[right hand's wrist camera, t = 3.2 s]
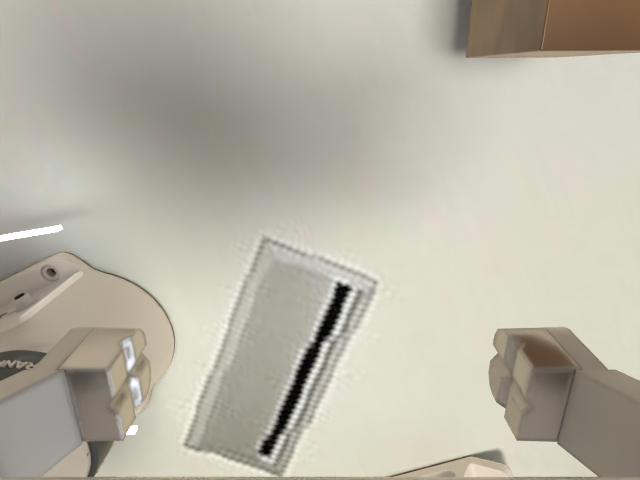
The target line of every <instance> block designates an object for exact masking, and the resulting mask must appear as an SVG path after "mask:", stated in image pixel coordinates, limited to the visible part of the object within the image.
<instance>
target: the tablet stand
mask: <svg viewBox="0 0 640 480" xmlns="http://www.w3.org/2000/svg"><path fill="white" fill-rule="evenodd" d="M394 477H513V475H512V471H511V469H510V468H509V467H508V466H507V465H505V464H502V463H498V462H494V461H490V460H485V459H481V458H477V457H473V456H470V457H467V458H463V459H459V460H455V461H451V462H448V463H444V464H440V465H436V466H432V467H429V468H425V469H421V470H417V471H413V472H410V473H406V474H402V475H398V476H394Z"/></svg>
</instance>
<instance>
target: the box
mask: <svg viewBox="0 0 640 480" xmlns="http://www.w3.org/2000/svg"><path fill="white" fill-rule="evenodd" d="M638 52H640V0H472V5H471V15H470V24H469V34H468V43H467V53H466V58H527V57H569V56H586V55H603V54H621V53H638Z"/></svg>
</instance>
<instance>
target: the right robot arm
mask: <svg viewBox="0 0 640 480" xmlns="http://www.w3.org/2000/svg"><path fill="white" fill-rule="evenodd" d="M61 229H63V228H62V226H61V225H59V226H53V227H47V228H42V229H36V230H30V231H24V232H18V233H12V234H6V235H1V236H0V241H4V240H10V239H16V238H22V237H28V236H34V235H40V234H46V233H52V232H57V231H60V230H61ZM51 269H54V270H55V272H56V273H54V272H52V271H51ZM493 345H494V347H495V349H496V350H497V352H498V353H497V354H496V355H495V356H494V358H493V359H492V360H491V361H490V367H489V383H490V388H491V391H492V394H493V396H494V398H495V400H496V402H497V403H498V404H500V405H501V406H503V407H504V408H506V410H505V416H504V417H505V419H506V421H507V423H508V425H509V427H510V429H511V431H512V432H513V434H514V436H515V438H516V440H517V441H552V442H558V443H557V444H559V445H560V446H561V447H562V448H564V449H565V450H566V451H567V452H569V453H570V454H571V455H572V456H574V457H575V458H576V459H577V460H579V461H580V462H581V463H582V464H583V465H585V466H586V467H587V468H588V469H590V470H591V471H592V472H593V473H595V474H596V475H597V476H598V477H94V476H95V474H96V473H97V472H98V471H99V469H100V468H101V466H102V465H103V463H104V459H105V457H106V456H107V454H108V452H109V450H110V448H111V447H112V446H113V444H114V443H115V441H122V440H124V438H125V436H126V435H128V434H135V432H136V430H137V426H131V425H132V423H133V421H134V419H135V417H136V416H135V414H139V413H141V412H142V411H143V410H144V408H145V407H146V405H147V404H148V402H149V399H150V396H151V392H152V388H153V386H154V385H155V384H156V383H157V381H158V380H159V379H160V378H161V377H162V376H163V375H164V373H165V372H166V371H167V369H168V367H169V366H170V363H171V361H172V358H173V354H174V335H173V331H172V328H171V325H170V322H169V320H168V318H167V316H166V314H165V313H164V311H163V310H162V308H161V307H160V306H159V305H158V303H157V302H156V301H155V300H154V299H153V298H152V297H151V296H150V295H148V294H147V293H146V292H145V291H143V290H142V289H141V288H139V287H138V286H136V285H134V284H132V283H131V282H129V281H127V280H124V279H122V278H119V277H117V276H113V275H110V274H107V273H103V272H100V271H97V270H95V269H93V268H91V267H90V266H89V265H87V264H86V263H84V262H83V261H81V260H80V259H78V258H77V257H75V256H73V255H71V254H69V253H65V252H60V253H57V254H55V255H53V256H51V257H49V258H47V259H45V260H43V261H41V262H39V263H37V264H35V265H33V266H31V267H29V268H27V269H25V270H23V271H21V272H19V273H17V274H15V275H13V276H11V277H9V278H7V279H5V280H3V281H1V282H0V480H640V381H639V380H636V379H634V378H632V377H630V376H628V375H626V374H623V373H621V372H619V371H617V370H608V369H607V368H606V367H605V366H604V365H603V364H602V363H601V362H600V361H599V360H598V358H597V357H596V356H595V355H594V354H593V353H592V352H591V351H590V350H589V349H588V348H587V347H586V346H585V345H584V344H583V343H582V342H581V341H580V340H579V339H578V338H577V337H576V336H575V335H574V333H573V332H572V331H571V330H570V329H568V328H565V327H546V328H514V329H497V331H496V333H495V336H494V342H493Z"/></svg>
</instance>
